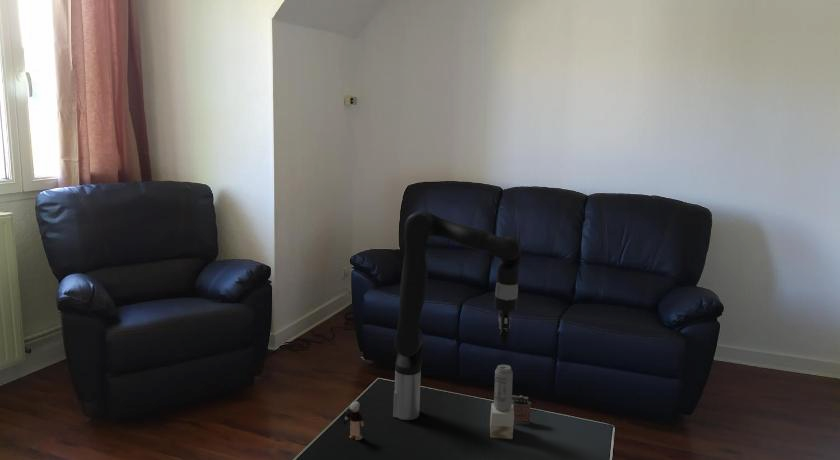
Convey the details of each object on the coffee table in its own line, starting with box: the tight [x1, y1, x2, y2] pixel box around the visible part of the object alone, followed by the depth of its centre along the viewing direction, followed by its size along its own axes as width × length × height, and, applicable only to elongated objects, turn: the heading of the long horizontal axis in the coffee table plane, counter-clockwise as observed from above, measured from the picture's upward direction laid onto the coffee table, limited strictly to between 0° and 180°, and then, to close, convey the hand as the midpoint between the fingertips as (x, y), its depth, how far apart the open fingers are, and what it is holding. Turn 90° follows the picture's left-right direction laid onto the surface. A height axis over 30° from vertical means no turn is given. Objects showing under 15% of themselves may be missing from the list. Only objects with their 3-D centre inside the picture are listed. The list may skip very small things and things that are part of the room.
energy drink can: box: [493, 364, 514, 411], centre depth 208 cm, size 6×6×15 cm
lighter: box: [512, 394, 532, 425], centre depth 217 cm, size 8×3×10 cm, turn 84°
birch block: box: [489, 416, 514, 440], centre depth 210 cm, size 8×8×4 cm
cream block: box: [490, 402, 515, 428], centre depth 209 cm, size 8×8×4 cm
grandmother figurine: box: [344, 401, 365, 441], centre depth 203 cm, size 8×4×13 cm, turn 71°
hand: (502, 340), depth 207 cm, fingers open, 8 cm apart
